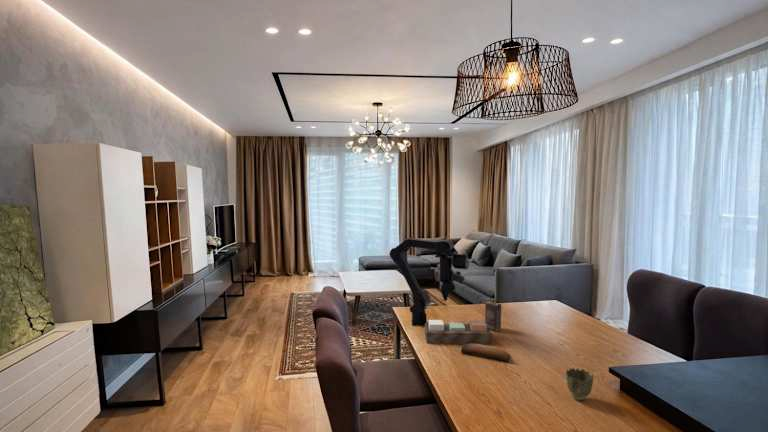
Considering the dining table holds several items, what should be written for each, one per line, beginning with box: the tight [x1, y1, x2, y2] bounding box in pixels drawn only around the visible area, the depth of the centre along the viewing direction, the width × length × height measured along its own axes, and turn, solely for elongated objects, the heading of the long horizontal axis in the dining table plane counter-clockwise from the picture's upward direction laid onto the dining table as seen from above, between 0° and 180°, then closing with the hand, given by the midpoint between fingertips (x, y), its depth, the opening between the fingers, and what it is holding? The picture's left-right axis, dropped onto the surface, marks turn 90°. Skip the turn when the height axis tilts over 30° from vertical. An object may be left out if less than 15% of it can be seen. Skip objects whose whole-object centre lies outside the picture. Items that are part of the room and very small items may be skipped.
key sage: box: [448, 322, 465, 331], centre depth 159 cm, size 6×6×4 cm
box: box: [484, 301, 502, 332], centre depth 170 cm, size 6×4×12 cm
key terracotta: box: [469, 319, 487, 331], centre depth 158 cm, size 6×6×4 cm
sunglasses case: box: [460, 344, 511, 363], centre depth 143 cm, size 18×7×7 cm
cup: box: [565, 367, 595, 402], centre depth 112 cm, size 8×7×8 cm
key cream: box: [428, 319, 445, 331], centre depth 159 cm, size 6×6×4 cm
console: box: [424, 322, 492, 345], centre depth 159 cm, size 27×11×4 cm, turn 88°
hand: (445, 300), depth 170 cm, fingers closed
